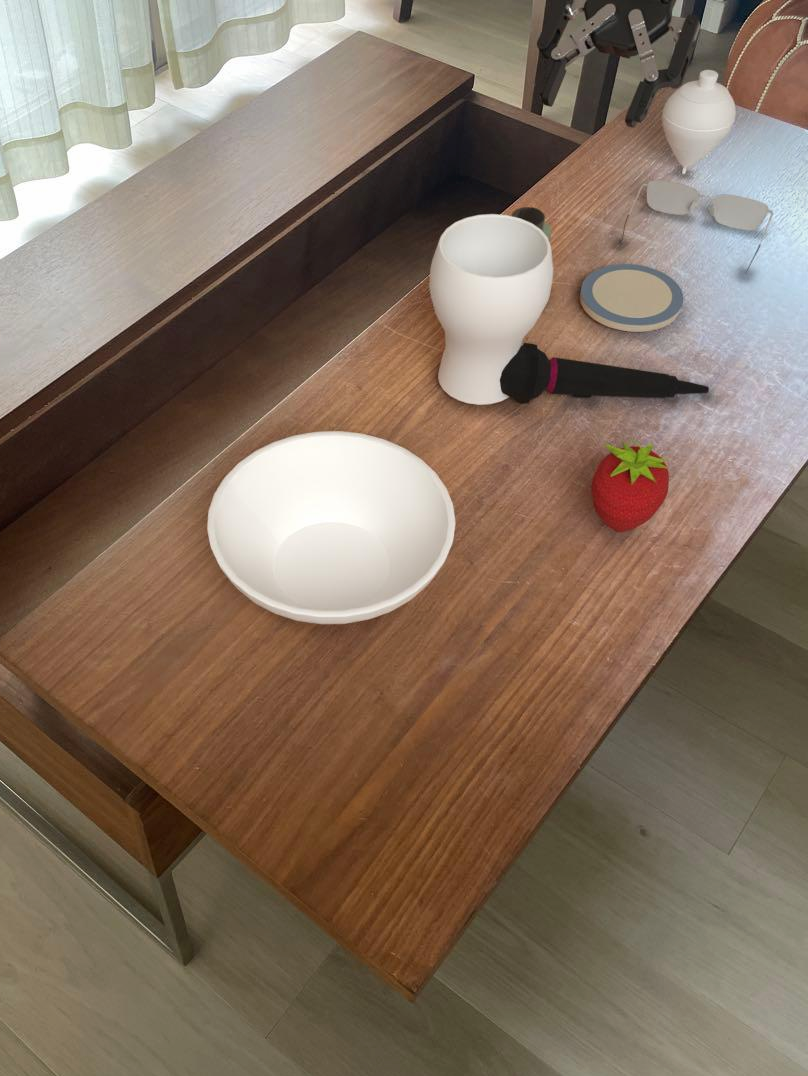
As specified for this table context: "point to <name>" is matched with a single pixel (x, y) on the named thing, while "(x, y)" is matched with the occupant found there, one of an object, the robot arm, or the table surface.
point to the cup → (487, 299)
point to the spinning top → (698, 118)
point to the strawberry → (629, 486)
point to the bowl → (331, 526)
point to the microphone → (583, 379)
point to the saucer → (631, 297)
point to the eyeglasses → (724, 207)
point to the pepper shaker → (533, 218)
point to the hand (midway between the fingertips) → (587, 113)
